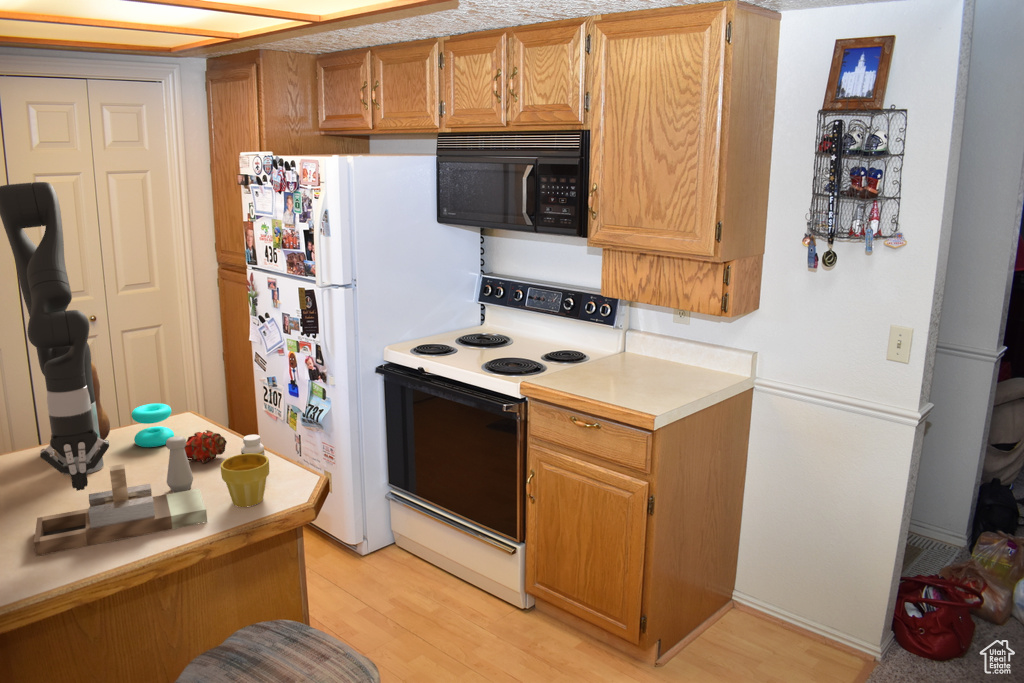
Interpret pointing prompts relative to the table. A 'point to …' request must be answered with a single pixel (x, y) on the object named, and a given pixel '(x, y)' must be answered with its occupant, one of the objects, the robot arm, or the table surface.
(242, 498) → the plant pot
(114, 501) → the slider block
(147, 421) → the donuts
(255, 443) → the supplement bottle
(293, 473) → the table surface
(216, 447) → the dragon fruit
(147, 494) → the grey slotted block
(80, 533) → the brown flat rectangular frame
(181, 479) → the salt shaker
